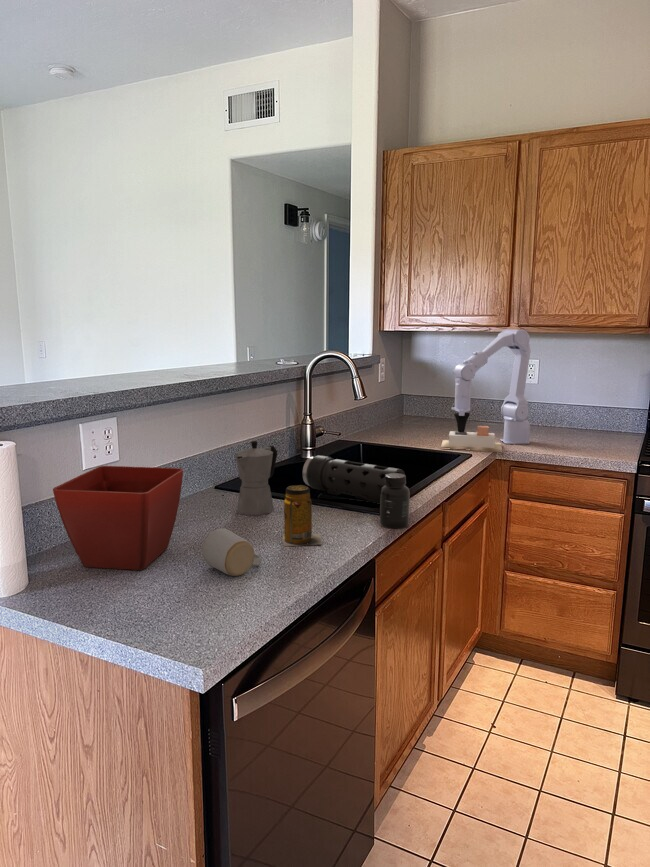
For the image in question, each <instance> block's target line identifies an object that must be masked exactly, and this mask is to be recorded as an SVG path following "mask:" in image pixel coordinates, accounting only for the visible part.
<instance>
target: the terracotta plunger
mask: <svg viewBox="0 0 650 867" xmlns="http://www.w3.org/2000/svg"><path fill="white" fill-rule="evenodd" d="M489 429H490V427H489V426H488V425H477V430H476V432H477V436H488V433H490V432H489V431H490V430H489Z"/></svg>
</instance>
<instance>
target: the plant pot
mask: <svg viewBox="0 0 650 867" xmlns="http://www.w3.org/2000/svg"><path fill="white" fill-rule="evenodd" d="M183 476H184V469H183V468H179V467H178V468H176V467H175V468H174V467H155V466H154V467H152V466H151V467H149V466H147V467H146V466H123V465H122V466H120V465H119V466H118V465H101V466H98V467H96V468H93V469H91V470H89V471H86V472H85V473H82V474H80V475H78V476H76V477H74V478H71V479H70V480H67V481H66V482H63V483H61V484H59V485H57V486H54V487H53V488H52V493H53V496H54V500H55V501H54V502H55V504H56V507H57V509H58V513H59V516H60V519H61V523H62V524H63V527H64V529H65V532H66V534H67V536H68V539H69V540H70V543H71V545H72V548H73V549H74V551H75V553H76V554H77V557H78V558H79V560H80V561H81V564H82V565H83V566H84V567H85V568H101V569H117V570H118V569H119V570H132V571H134V570H135V571H140V570H144V569H145V568H147V567H148V566H150V564H151V563H152V562H153V561H154V560H156V559H157V558H158V557H159V556H160V555H161V554H162V553H164V551H166V550H167V549H168V547H169V544H170V542H171V538H172V534H173V531H174V527H175V523H176V518H177V514H178V510H179V505H180V500H181V499H180V498H181V494H182V493H181V491H182V485H183Z"/></svg>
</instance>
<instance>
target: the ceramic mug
mask: <svg viewBox="0 0 650 867" xmlns="http://www.w3.org/2000/svg"><path fill="white" fill-rule="evenodd" d="M201 552H202V558H203V560H204V562H205V564H207V565H208V566H211V567H212V568H214V569H217V570H218V571H219V572H220V571H221V572H222V573H224V574H226V575H228V576H232V577H233V576H234V577H239V576H242V575H244V574H245V573H247V571H249V570H250V569H251V567H252V566H256V567H257V566H260V565H261V561H262V557H261V556H259V555H258V554H256V553H255V550H254V547H253V545H252V544H251V543H250V542H249V541H248V540H247V539H245V538H243V537H241V536H239V535H237V534H236V533H234V532H233V531H231V530H229V529H227V528H221V527H220V528H216V529H215V530H212V532H210V533H209V534H208V535H207V537H206V538H205V539H204V542H203V543H202V550H201Z"/></svg>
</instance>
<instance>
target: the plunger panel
mask: <svg viewBox="0 0 650 867" xmlns="http://www.w3.org/2000/svg"><path fill="white" fill-rule="evenodd" d="M456 431H457V430H454V431H453V430H450V431H449V434H448V440H449V446H465V447H485V448H494V445H495V442H496V437H495V435H496V434H495V433H494V432H489V433H488V436H477V431H475V432H474V431H473V432H472V431H467V435H456Z"/></svg>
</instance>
